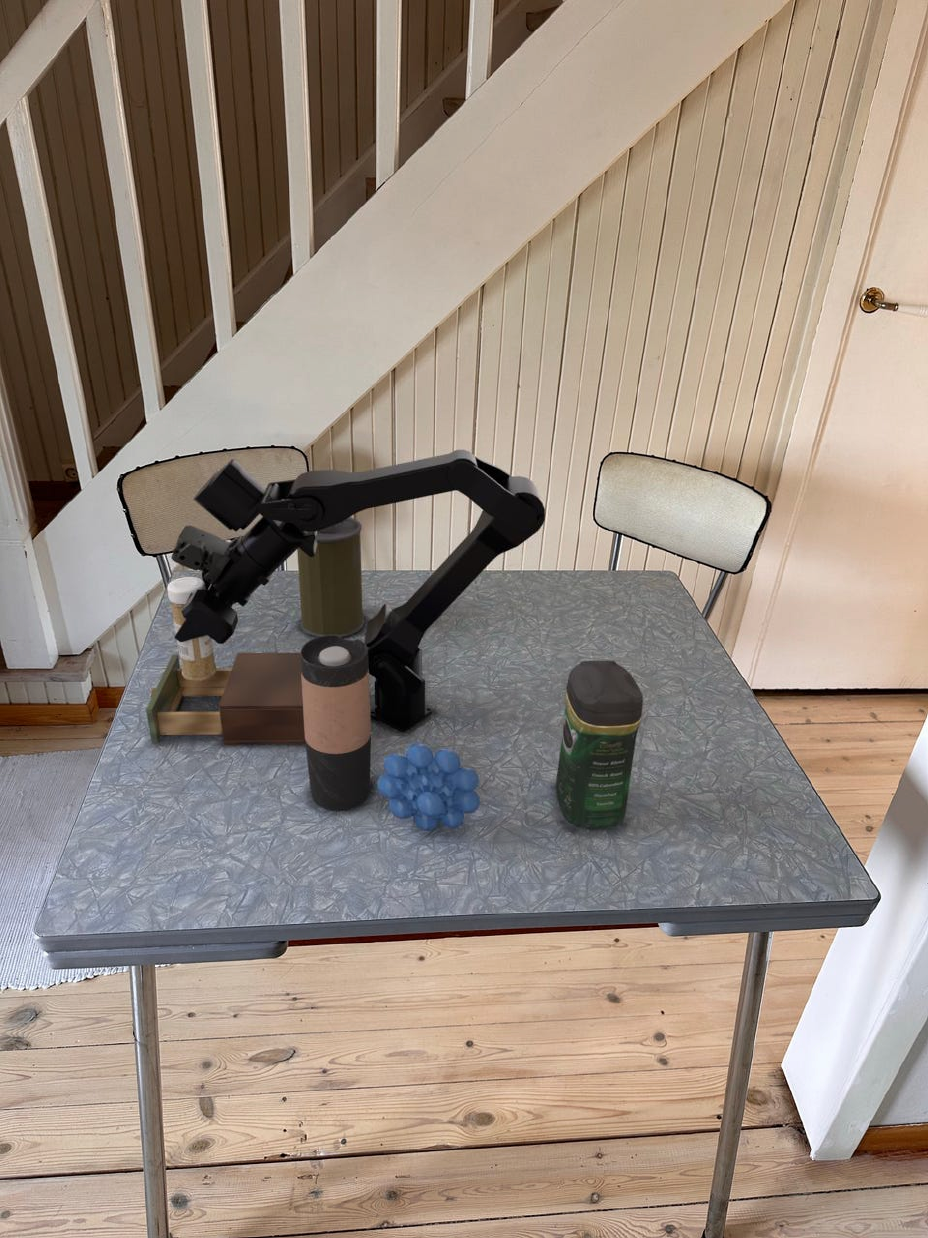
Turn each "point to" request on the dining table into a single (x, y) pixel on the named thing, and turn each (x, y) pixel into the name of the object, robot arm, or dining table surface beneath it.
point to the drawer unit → (263, 700)
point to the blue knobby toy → (429, 787)
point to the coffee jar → (598, 744)
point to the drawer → (168, 700)
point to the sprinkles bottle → (194, 651)
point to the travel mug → (337, 720)
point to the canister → (332, 582)
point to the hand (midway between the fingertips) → (182, 630)
